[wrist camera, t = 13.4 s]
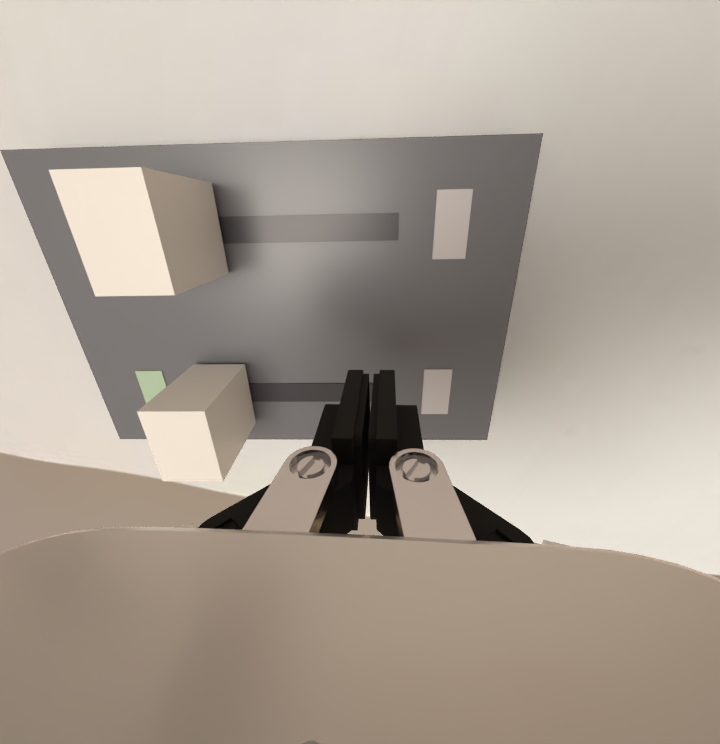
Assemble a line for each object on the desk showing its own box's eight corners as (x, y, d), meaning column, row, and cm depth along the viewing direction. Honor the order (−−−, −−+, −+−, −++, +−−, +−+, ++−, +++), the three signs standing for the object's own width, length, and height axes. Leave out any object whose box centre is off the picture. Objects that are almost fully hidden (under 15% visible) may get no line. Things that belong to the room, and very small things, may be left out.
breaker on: (211, 182, 15) (141, 167, 10) (228, 273, 16) (175, 295, 12) (146, 184, 15) (48, 169, 10) (170, 274, 17) (95, 296, 12)
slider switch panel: (518, 145, 16) (544, 132, 14) (475, 417, 23) (487, 440, 21) (49, 159, 17) (-3, 149, 15) (143, 417, 24) (119, 439, 21)
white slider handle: (244, 364, 19) (204, 411, 14) (255, 422, 20) (222, 481, 16) (193, 364, 19) (136, 411, 14) (208, 422, 20) (162, 481, 16)
